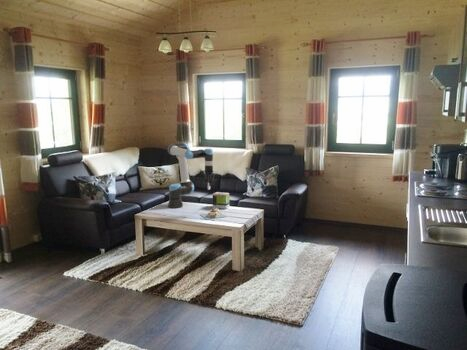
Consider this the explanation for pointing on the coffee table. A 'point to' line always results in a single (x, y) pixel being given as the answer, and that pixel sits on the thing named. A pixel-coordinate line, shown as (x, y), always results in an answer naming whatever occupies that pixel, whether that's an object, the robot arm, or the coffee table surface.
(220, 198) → the tea box
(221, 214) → the post base
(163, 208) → the coffee table surface
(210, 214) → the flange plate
